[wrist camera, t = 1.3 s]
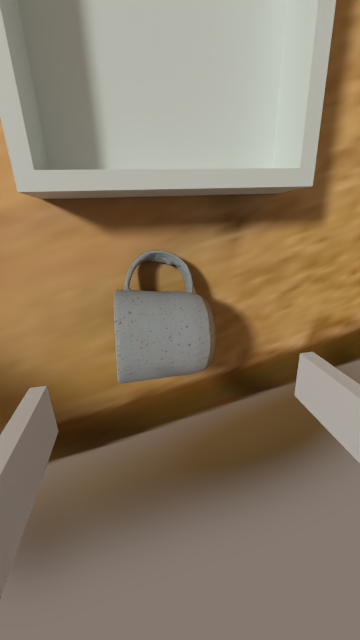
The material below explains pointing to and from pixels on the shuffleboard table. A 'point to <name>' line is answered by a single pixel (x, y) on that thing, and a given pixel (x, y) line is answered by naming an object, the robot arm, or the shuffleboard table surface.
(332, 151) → the shuffleboard table surface
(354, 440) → the robot arm
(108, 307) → the shuffleboard table surface
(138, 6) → the bin
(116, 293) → the ceramic mug
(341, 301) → the shuffleboard table surface
